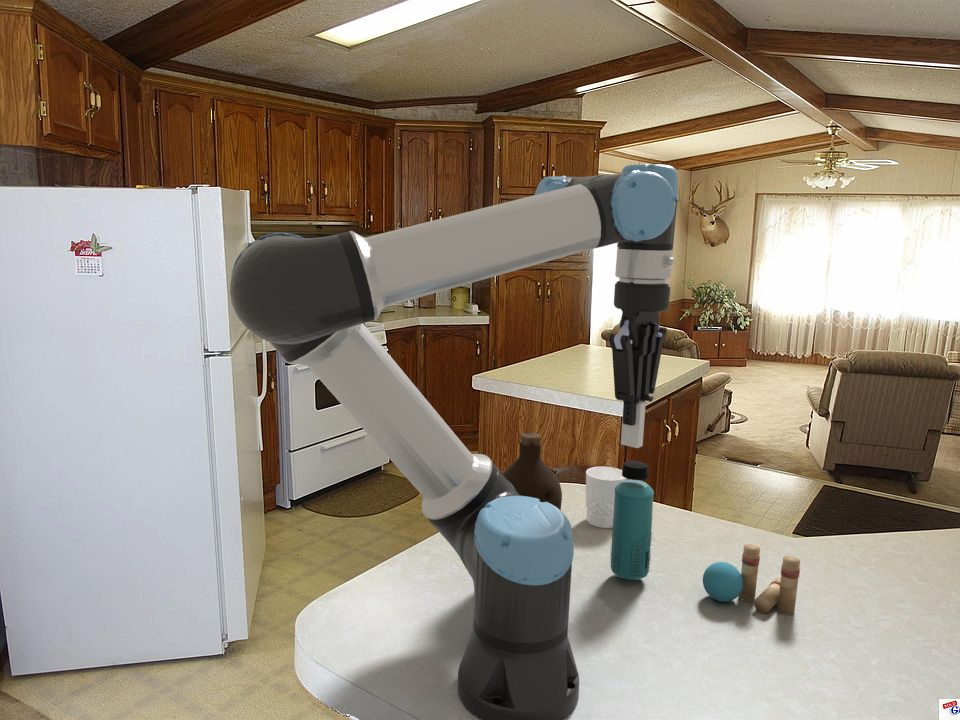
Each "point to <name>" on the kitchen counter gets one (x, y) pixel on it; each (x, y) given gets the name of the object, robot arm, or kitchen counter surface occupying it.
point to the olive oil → (533, 472)
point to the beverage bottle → (632, 523)
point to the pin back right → (788, 585)
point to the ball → (722, 581)
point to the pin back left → (749, 571)
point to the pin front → (768, 597)
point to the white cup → (601, 495)
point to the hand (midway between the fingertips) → (631, 444)
